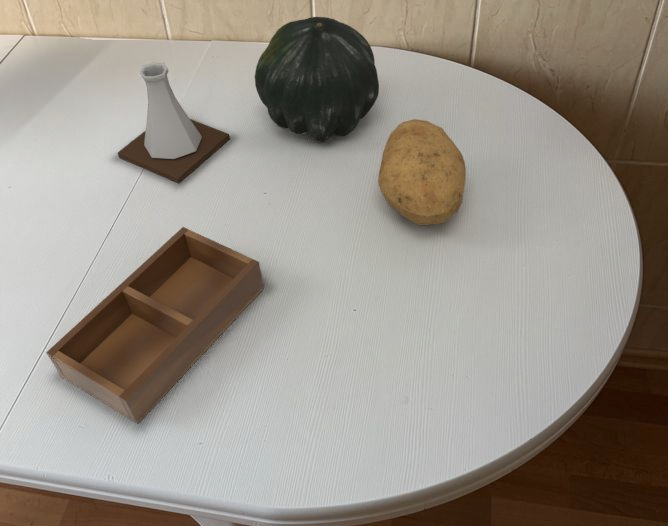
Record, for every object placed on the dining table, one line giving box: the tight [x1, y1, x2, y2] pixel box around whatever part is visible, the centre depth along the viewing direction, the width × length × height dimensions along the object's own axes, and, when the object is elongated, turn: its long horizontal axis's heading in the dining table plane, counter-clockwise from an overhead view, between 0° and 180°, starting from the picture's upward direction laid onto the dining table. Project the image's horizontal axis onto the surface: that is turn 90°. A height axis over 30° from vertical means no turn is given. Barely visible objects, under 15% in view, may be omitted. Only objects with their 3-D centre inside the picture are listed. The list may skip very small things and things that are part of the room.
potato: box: [377, 118, 467, 226], centre depth 77 cm, size 10×14×8 cm
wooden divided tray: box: [46, 226, 265, 425], centre depth 69 cm, size 10×19×4 cm, turn 147°
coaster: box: [117, 118, 231, 184], centre depth 88 cm, size 10×10×1 cm
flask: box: [139, 62, 202, 159], centre depth 84 cm, size 7×7×10 cm
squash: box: [254, 16, 380, 143], centre depth 86 cm, size 14×15×15 cm
